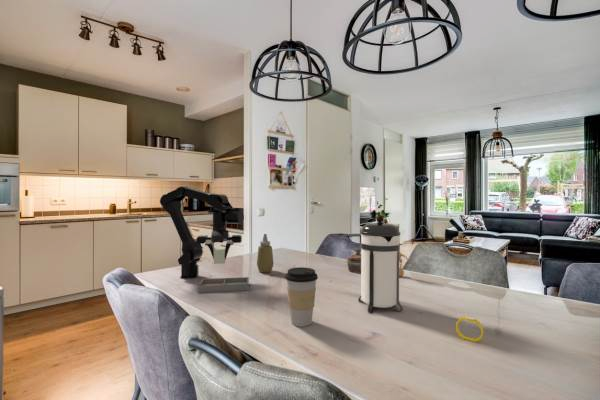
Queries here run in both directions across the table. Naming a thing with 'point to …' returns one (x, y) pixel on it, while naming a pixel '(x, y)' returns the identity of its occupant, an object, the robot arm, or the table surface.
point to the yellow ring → (471, 319)
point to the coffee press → (380, 265)
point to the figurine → (401, 264)
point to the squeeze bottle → (265, 256)
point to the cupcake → (354, 261)
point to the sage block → (219, 255)
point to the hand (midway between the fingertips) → (219, 258)
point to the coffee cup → (301, 294)
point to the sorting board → (223, 284)
